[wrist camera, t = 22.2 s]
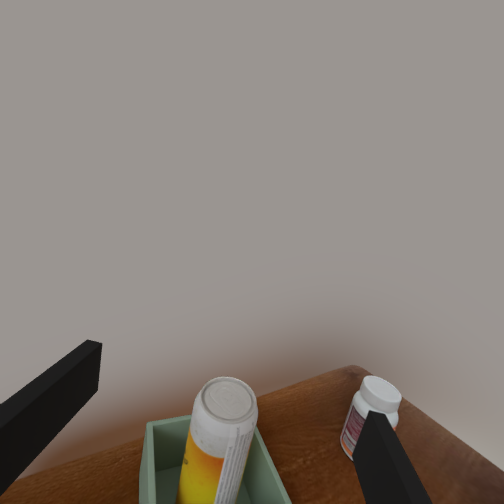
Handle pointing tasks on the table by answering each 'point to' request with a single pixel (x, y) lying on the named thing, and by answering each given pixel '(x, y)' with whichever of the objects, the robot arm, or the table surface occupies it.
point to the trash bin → (171, 459)
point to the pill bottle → (369, 398)
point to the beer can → (218, 442)
